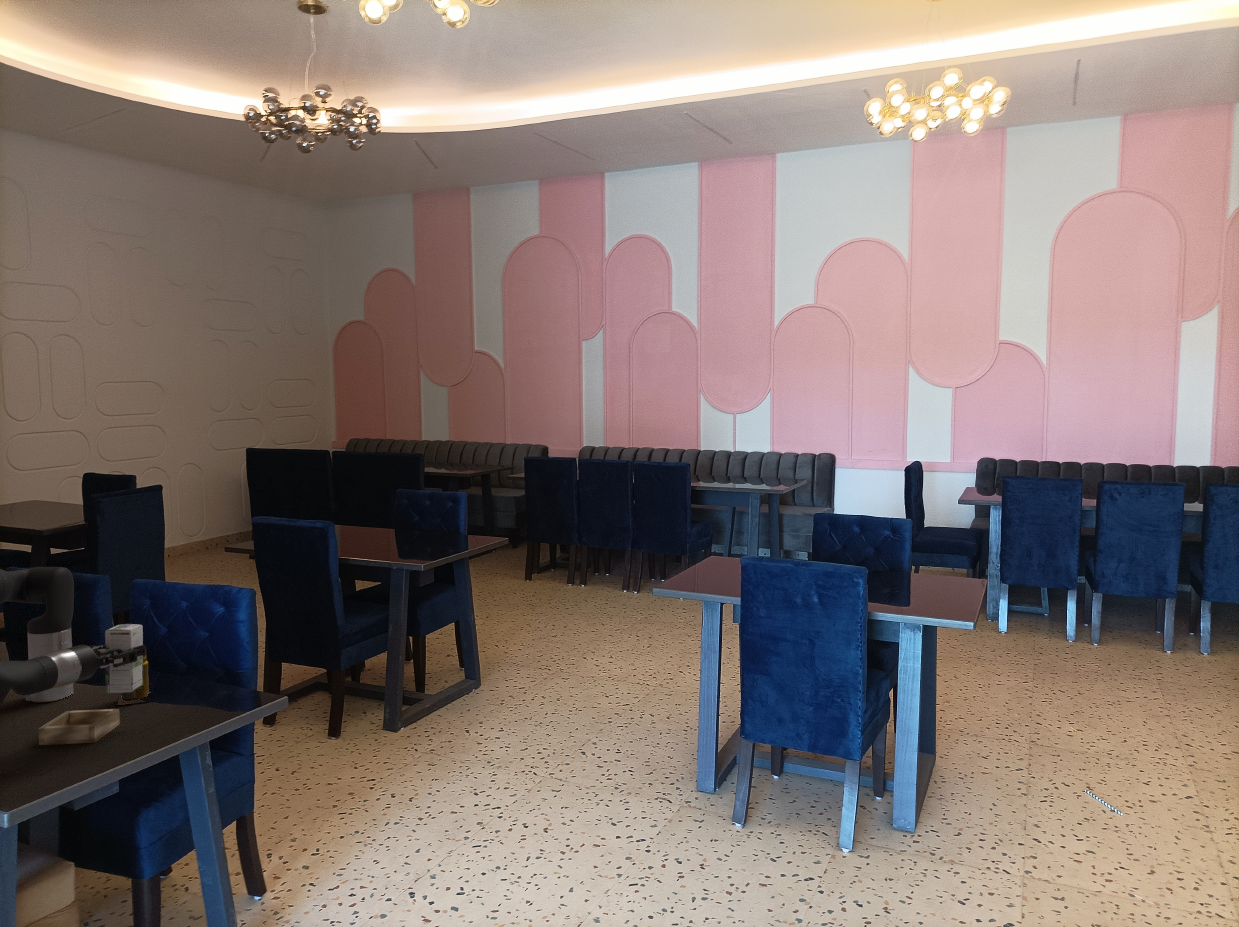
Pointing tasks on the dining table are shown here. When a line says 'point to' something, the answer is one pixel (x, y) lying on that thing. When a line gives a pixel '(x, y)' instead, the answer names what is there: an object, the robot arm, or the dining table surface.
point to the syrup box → (129, 674)
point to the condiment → (142, 690)
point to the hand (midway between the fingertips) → (132, 648)
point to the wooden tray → (79, 726)
